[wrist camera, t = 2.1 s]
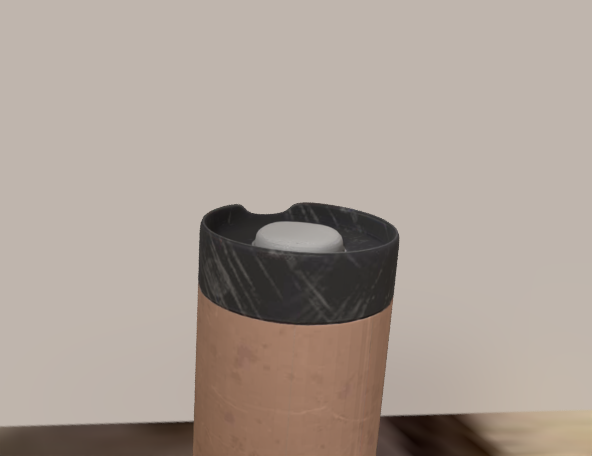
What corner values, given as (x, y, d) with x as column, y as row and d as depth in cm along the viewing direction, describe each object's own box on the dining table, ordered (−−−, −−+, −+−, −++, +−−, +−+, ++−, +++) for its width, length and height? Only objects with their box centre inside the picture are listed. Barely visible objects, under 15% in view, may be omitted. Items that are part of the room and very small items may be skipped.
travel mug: (319, 761, 21) (372, 270, 16) (154, 672, 24) (153, 228, 19) (371, 597, 28) (420, 217, 23) (238, 543, 31) (255, 192, 26)
